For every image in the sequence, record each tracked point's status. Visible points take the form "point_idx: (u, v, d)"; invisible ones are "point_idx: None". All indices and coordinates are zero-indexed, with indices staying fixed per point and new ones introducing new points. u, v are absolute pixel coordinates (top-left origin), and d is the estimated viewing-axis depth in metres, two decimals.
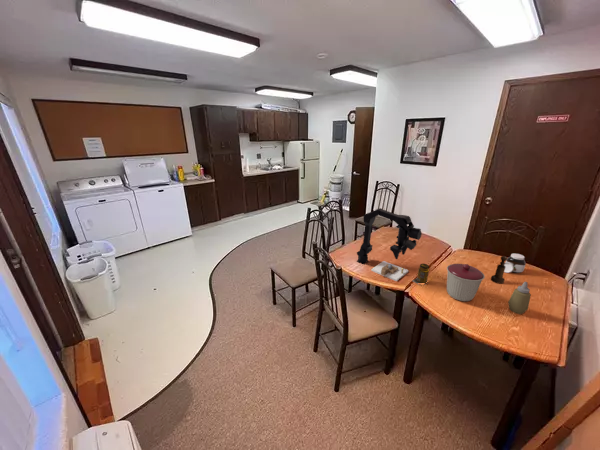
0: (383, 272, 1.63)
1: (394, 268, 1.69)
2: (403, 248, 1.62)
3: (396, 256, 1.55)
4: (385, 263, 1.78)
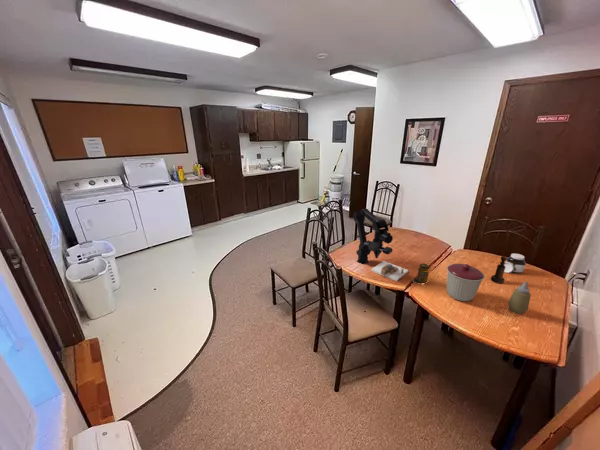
0: (383, 272, 1.63)
1: (394, 268, 1.69)
2: None
3: None
4: (385, 263, 1.78)
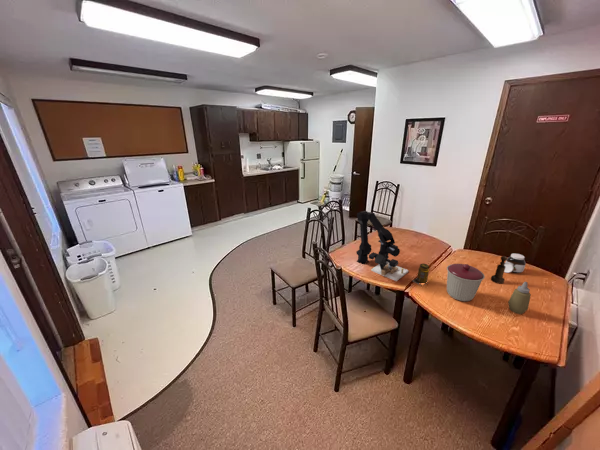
0: (383, 272, 1.62)
1: (394, 268, 1.69)
2: None
3: None
4: None
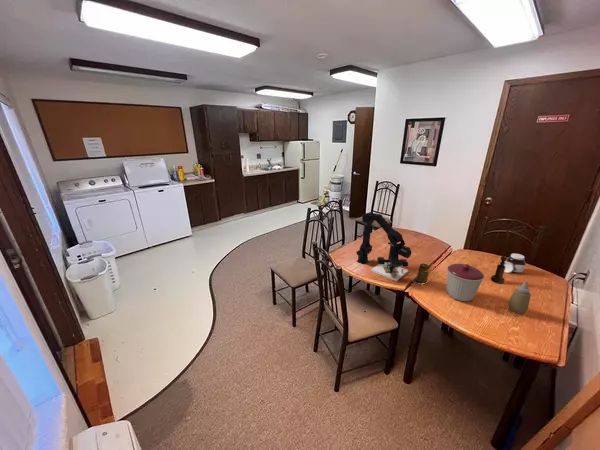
0: (395, 274, 1.60)
1: None
2: (391, 266, 1.61)
3: (390, 269, 1.61)
4: (385, 263, 1.78)
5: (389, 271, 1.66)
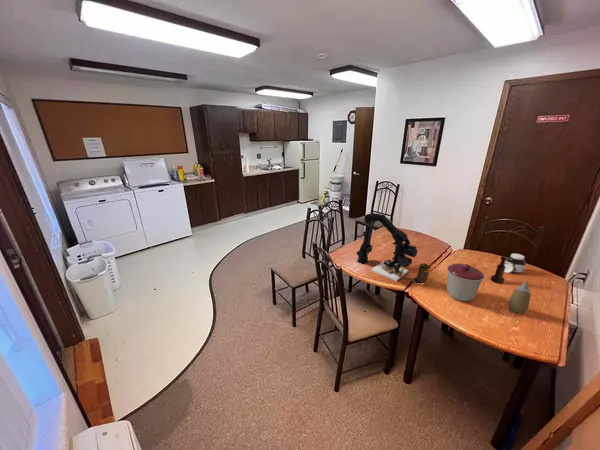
0: (401, 273, 1.61)
1: None
2: None
3: (396, 270, 1.61)
4: None
5: (392, 271, 1.66)
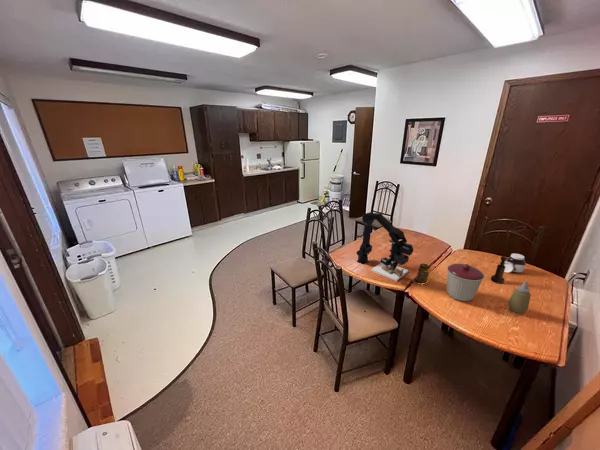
0: (401, 273, 1.61)
1: None
2: None
3: (392, 267, 1.60)
4: None
5: (392, 271, 1.66)
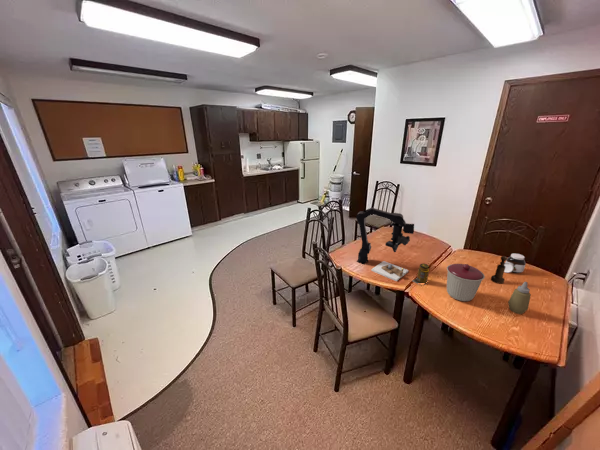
0: (402, 273, 1.61)
1: None
2: None
3: (394, 249, 1.70)
4: (385, 263, 1.78)
5: (392, 271, 1.66)
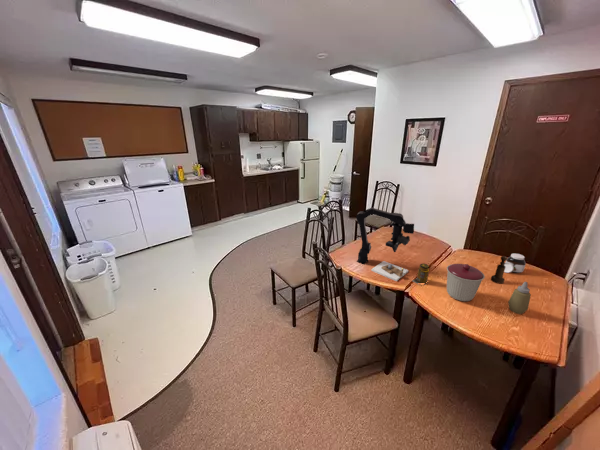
0: (402, 273, 1.61)
1: None
2: None
3: (394, 249, 1.70)
4: (385, 263, 1.78)
5: (392, 271, 1.66)
